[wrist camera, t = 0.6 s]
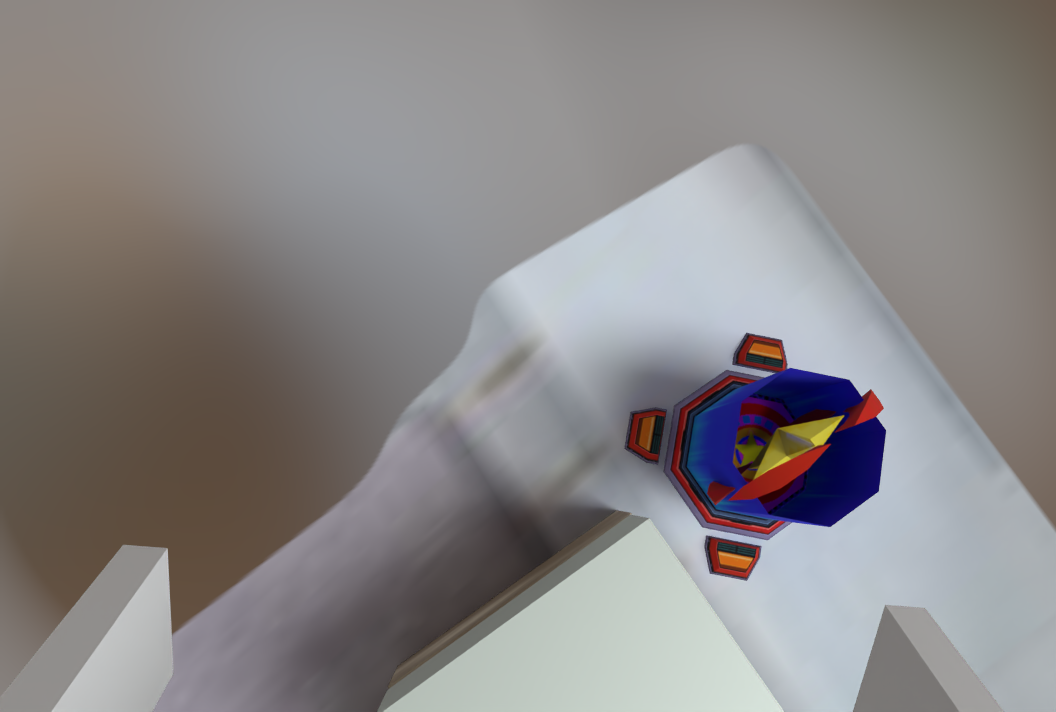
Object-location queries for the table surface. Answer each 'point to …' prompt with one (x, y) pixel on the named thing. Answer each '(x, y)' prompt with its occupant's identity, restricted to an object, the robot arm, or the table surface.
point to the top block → (595, 643)
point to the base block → (505, 597)
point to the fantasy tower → (765, 451)
